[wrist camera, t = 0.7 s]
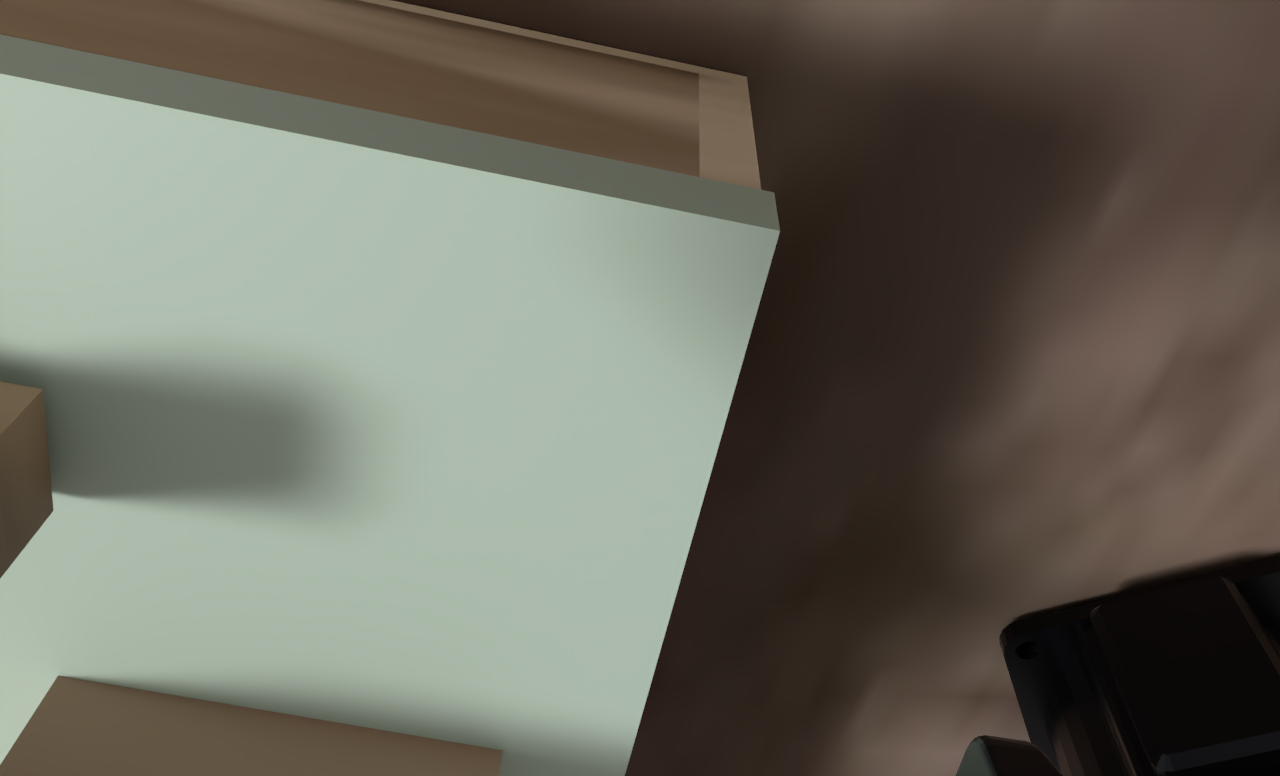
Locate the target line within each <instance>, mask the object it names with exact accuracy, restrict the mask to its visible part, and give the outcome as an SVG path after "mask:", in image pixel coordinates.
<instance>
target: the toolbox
mask: <svg viewBox="0 0 1280 776" xmlns="http://www.w3.org/2000/svg"><path fill="white" fill-rule="evenodd" d="M0 35H5V36H10V37H15V38H20V39H25V40H30V41H35V42H40V43H45V44H49V45H54V46H59V47H64V48H69V49H74V50H79V51H84V52H89V53H94V54H98V55H103V56H108V57H113V58H118V59H123V60H128V61H133V62H138V63H143V64H147V65H152V66H157V67H162V68H167V69H172V70H177V71H182V72H187V73H192V74H196V75H201V76H206V77H211V78H216V79H221V80H226V81H231V82H236V83H241V84H245V85H250V86H255V87H260V88H265V89H270V90H275V91H280V92H285V93H289V94H294V95H299V96H304V97H309V98H314V99H319V100H324V101H329V102H334V103H338V104H343V105H348V106H353V107H358V108H363V109H368V110H373V111H378V112H383V113H387V114H392V115H397V116H402V117H407V118H412V119H417V120H422V121H427V122H432V123H436V124H441V125H446V126H451V127H456V128H461V129H466V130H471V131H476V132H481V133H485V134H490V135H495V136H500V137H505V138H510V139H515V140H520V141H525V142H530V143H534V144H539V145H544V146H549V147H554V148H559V149H564V150H569V151H574V152H579V153H583V154H588V155H593V156H598V157H603V158H608V159H613V160H618V161H623V162H628V163H632V164H637V165H642V166H647V167H652V168H657V169H662V170H667V171H672V172H677V173H681V174H686V175H691V176H696V177H701V178H706V179H711V180H716V181H721V182H726V183H730V184H735V185H740V186H745V187H750V188H755V189H760V190H761V183H760V176H759V168H758V160H757V152H756V145H755V137H754V129H753V121H752V114H751V106H750V98H749V90H748V83H747V77H746V76H741V75H737V74H732V73H727V72H723V71H718V70H713V69H709V68H704V67H700V66H695V65H690V64H686V63H681V62H676V61H672V60H667V59H662V58H658V57H653V56H648V55H644V54H639V53H635V52H630V51H625V50H621V49H616V48H611V47H607V46H602V45H597V44H593V43H588V42H584V41H579V40H574V39H570V38H565V37H560V36H556V35H551V34H546V33H542V32H537V31H532V30H528V29H523V28H519V27H514V26H509V25H505V24H500V23H495V22H491V21H486V20H481V19H477V18H472V17H467V16H463V15H458V14H454V13H449V12H444V11H440V10H435V9H430V8H426V7H421V6H416V5H412V4H407V3H403V2H398V1H393V0H0Z"/></svg>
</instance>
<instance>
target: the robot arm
mask: <svg viewBox="0 0 1280 776" xmlns="http://www.w3.org/2000/svg"><path fill="white" fill-rule="evenodd" d="M1024 642H1032V643H1030V644H1028V645H1026V646H1019V645H1020V644H1022V643H1024ZM1000 645H1001V648H1002V652H1003V655H1004V658H1005V661H1006V664H1007V668H1008V671H1009V674H1010V677H1011V680H1012V684H1013V687H1014V690H1015V693H1016V696H1017V699H1018V703H1019V706H1020V709H1021V712H1022V715H1023V719H1024V722H1025V725H1026V728H1027V731H1028V735H1029V738H1030V741H1031V743H1030V742H1027V741H1021V740H1014V739H1007V738H1000V737H993V736H986V735H984V736H978V737H976V738H975V739H974V740H973V741H972V742H971V743H970V744H969V746H968V748H967V750H966V752H965V755H964V757H963V759H962V762H961V764H960V767H959V769H958V771H957V774H956V776H1280V557H1276V558H1272V559H1268V560H1263V561H1259V562H1255V563H1251V564H1247V565H1243V566H1239V567H1235V568H1231V569H1227V570H1223V571H1219V572H1215V573H1211V574H1207V575H1202V576H1198V577H1194V578H1190V579H1186V580H1182V581H1178V582H1174V583H1170V584H1166V585H1162V586H1158V587H1154V588H1150V589H1145V590H1141V591H1137V592H1133V593H1129V594H1125V595H1121V596H1117V597H1113V598H1109V599H1105V600H1101V601H1097V602H1093V603H1089V604H1084V605H1080V606H1076V607H1072V608H1068V609H1064V610H1060V611H1056V612H1052V613H1048V614H1044V615H1040V616H1036V617H1032V618H1027V619H1023V620H1019V621H1016V622H1014V623H1011V624H1009V625H1008V626H1007V627H1006V628H1004V629H1003V631H1002V633H1001V635H1000Z"/></svg>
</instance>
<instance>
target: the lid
mask: <svg viewBox="0 0 1280 776" xmlns="http://www.w3.org/2000/svg"><path fill="white" fill-rule="evenodd" d="M779 233H780V227H779V221H778V214H777V208H776V201H775V195H774V192H770V191H765V190H760V189H755V188H750V187H745V186H740V185H735V184H730V183H726V182H721V181H716V180H711V179H706V178H701V177H696V176H691V175H686V174H681V173H677V172H672V171H667V170H662V169H657V168H652V167H647V166H642V165H637V164H632V163H628V162H623V161H618V160H613V159H608V158H603V157H598V156H593V155H588V154H583V153H579V152H574V151H569V150H564V149H559V148H554V147H549V146H544V145H539V144H534V143H530V142H525V141H520V140H515V139H510V138H505V137H500V136H495V135H490V134H485V133H481V132H476V131H471V130H466V129H461V128H456V127H451V126H446V125H441V124H436V123H432V122H427V121H422V120H417V119H412V118H407V117H402V116H397V115H392V114H387V113H383V112H378V111H373V110H368V109H363V108H358V107H353V106H348V105H343V104H338V103H334V102H329V101H324V100H319V99H314V98H309V97H304V96H299V95H294V94H289V93H285V92H280V91H275V90H270V89H265V88H260V87H255V86H250V85H245V84H241V83H236V82H231V81H226V80H221V79H216V78H211V77H206V76H201V75H196V74H192V73H187V72H182V71H177V70H172V69H167V68H162V67H157V66H152V65H147V64H143V63H138V62H133V61H128V60H123V59H118V58H113V57H108V56H103V55H98V54H94V53H89V52H84V51H79V50H74V49H69V48H64V47H59V46H54V45H49V44H45V43H40V42H35V41H30V40H25V39H20V38H15V37H10V36H5V35H0V381H1V382H7V383H12V384H17V385H23V386H28V387H33V388H39V389H43V396H44V408H45V419H46V431H47V442H48V453H49V465H50V476H51V487H52V499H53V510H54V511H53V512H52V513H51V515H50V516H49V517H48V518H47V520H46V521H45V522H44V523H43V525H42V526H41V527H40V529H39V530H38V531H37V532H36V534H35V535H34V536H33V538H32V539H31V540H30V541H29V543H28V544H27V545H26V546H25V548H24V549H23V550H22V552H21V553H20V554H19V555H18V557H17V558H16V559H15V561H14V562H13V563H12V564H11V566H10V567H9V568H8V569H7V571H6V572H5V573H4V575H3V576H2V577H1V578H0V776H625V773H626V770H627V766H628V763H629V759H630V756H631V752H632V749H633V745H634V742H635V738H636V735H637V731H638V727H639V724H640V720H641V717H642V713H643V710H644V706H645V703H646V699H647V696H648V692H649V689H650V685H651V682H652V678H653V675H654V671H655V668H656V664H657V661H658V657H659V654H660V650H661V647H662V643H663V640H664V636H665V633H666V629H667V626H668V622H669V619H670V615H671V612H672V608H673V605H674V601H675V598H676V594H677V591H678V587H679V584H680V580H681V577H682V573H683V570H684V566H685V563H686V559H687V556H688V552H689V549H690V545H691V542H692V538H693V535H694V531H695V528H696V524H697V521H698V517H699V514H700V510H701V507H702V503H703V500H704V496H705V493H706V489H707V486H708V482H709V479H710V475H711V472H712V468H713V465H714V461H715V458H716V454H717V450H718V447H719V443H720V440H721V436H722V433H723V429H724V426H725V422H726V419H727V415H728V412H729V408H730V405H731V401H732V398H733V394H734V391H735V387H736V384H737V380H738V377H739V373H740V370H741V366H742V363H743V359H744V356H745V352H746V349H747V345H748V342H749V338H750V335H751V331H752V328H753V324H754V321H755V317H756V314H757V310H758V307H759V303H760V300H761V296H762V293H763V289H764V286H765V282H766V279H767V275H768V272H769V268H770V265H771V261H772V258H773V254H774V251H775V247H776V244H777V240H778V237H779Z"/></svg>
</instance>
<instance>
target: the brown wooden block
mask: <svg viewBox="0 0 1280 776" xmlns="http://www.w3.org/2000/svg"><path fill="white" fill-rule="evenodd" d="M53 511H54V510H53V499H52V487H51V476H50V465H49V453H48V442H47V431H46V419H45V408H44V396H43V389H39V388H33V387H28V386H23V385H17V384H12V383H7V382H1V381H0V578H1V577H2V576H3V575H4V573H5V572H6V571H7V569H8V568H9V567H10V566H11V564H12V563H13V562H14V561H15V559H16V558H17V557H18V555H19V554H20V553H21V552H22V550H23V549H24V548H25V546H26V545H27V544H28V543H29V541H30V540H31V539H32V538H33V536H34V535H35V534H36V532H37V531H38V530H39V529H40V527H41V526H42V525H43V523H44V522H45V521H46V520H47V518H48V517H49V516H50V515H51V513H52V512H53Z"/></svg>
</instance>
